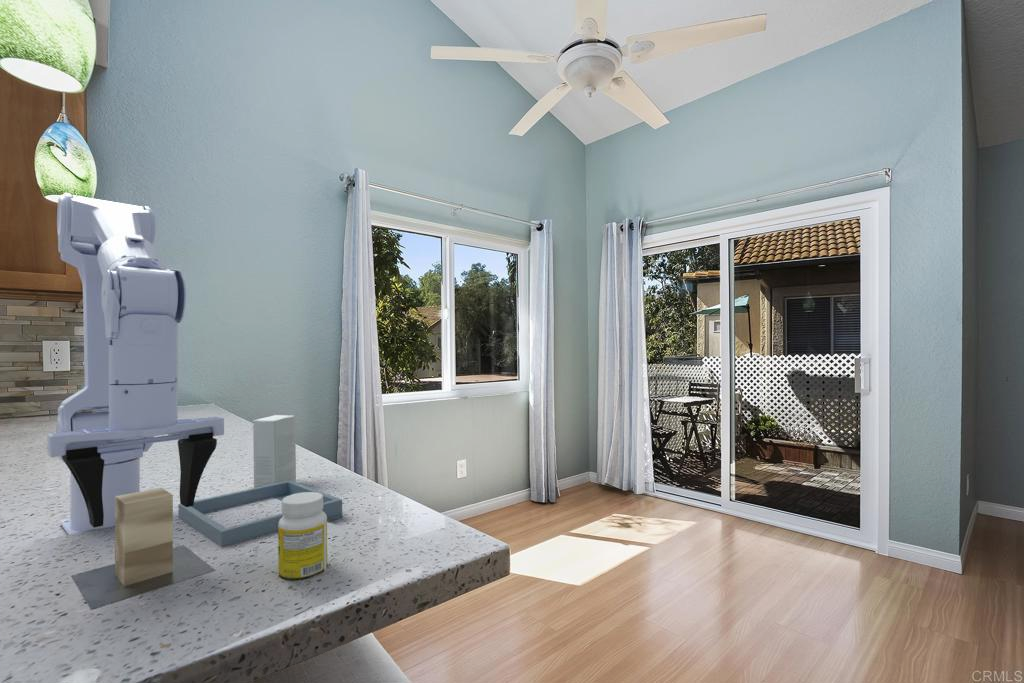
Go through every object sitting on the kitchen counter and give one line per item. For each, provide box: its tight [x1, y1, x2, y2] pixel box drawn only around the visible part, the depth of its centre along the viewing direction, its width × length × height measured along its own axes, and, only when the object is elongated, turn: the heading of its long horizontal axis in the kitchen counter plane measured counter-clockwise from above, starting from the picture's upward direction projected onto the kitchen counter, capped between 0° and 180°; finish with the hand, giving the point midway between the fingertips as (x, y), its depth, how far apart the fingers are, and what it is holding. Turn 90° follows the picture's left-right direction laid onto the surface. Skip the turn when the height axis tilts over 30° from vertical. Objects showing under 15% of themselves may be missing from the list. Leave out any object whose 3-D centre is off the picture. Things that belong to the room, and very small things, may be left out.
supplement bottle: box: [277, 492, 328, 582], centre depth 51 cm, size 5×5×8 cm
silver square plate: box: [70, 544, 216, 611], centre depth 51 cm, size 10×10×4 cm
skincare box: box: [252, 414, 297, 488], centre depth 85 cm, size 6×4×12 cm
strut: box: [114, 487, 174, 586], centre depth 51 cm, size 4×4×8 cm
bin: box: [177, 480, 343, 548], centre depth 68 cm, size 16×16×2 cm
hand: (144, 514), depth 51 cm, fingers open, 7 cm apart
